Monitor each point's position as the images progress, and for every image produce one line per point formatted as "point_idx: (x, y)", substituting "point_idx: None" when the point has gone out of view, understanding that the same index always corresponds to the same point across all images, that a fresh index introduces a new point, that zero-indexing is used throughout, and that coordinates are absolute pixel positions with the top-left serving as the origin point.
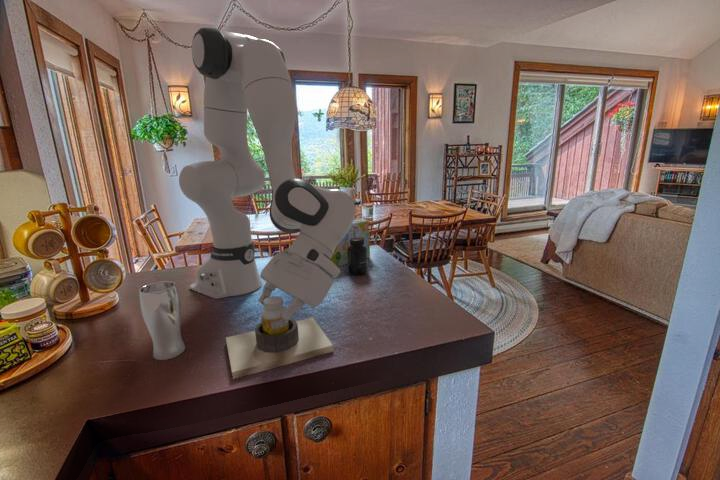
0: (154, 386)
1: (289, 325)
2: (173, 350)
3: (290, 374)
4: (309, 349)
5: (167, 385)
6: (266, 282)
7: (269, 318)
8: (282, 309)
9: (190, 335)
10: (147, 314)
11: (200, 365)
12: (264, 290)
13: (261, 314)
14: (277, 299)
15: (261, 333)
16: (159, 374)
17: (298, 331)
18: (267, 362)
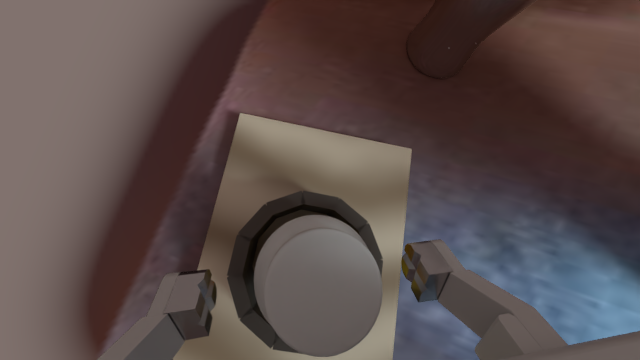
0: (324, 9)
1: None
2: (416, 43)
3: (164, 235)
4: None
5: (312, 25)
6: (558, 339)
7: (273, 233)
8: (198, 297)
9: (488, 100)
10: None
11: (343, 85)
12: (480, 291)
13: (328, 216)
14: (314, 317)
15: (293, 204)
16: (359, 22)
17: None
18: (220, 194)
